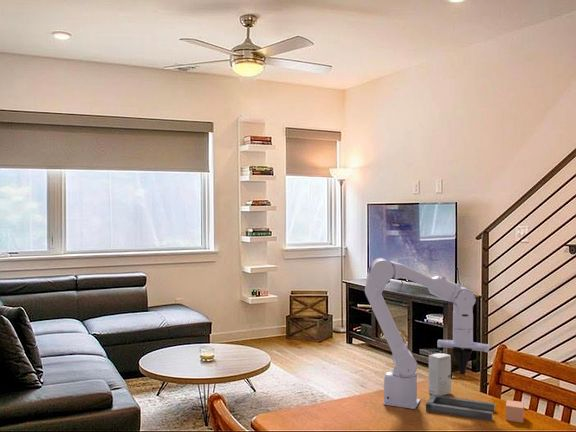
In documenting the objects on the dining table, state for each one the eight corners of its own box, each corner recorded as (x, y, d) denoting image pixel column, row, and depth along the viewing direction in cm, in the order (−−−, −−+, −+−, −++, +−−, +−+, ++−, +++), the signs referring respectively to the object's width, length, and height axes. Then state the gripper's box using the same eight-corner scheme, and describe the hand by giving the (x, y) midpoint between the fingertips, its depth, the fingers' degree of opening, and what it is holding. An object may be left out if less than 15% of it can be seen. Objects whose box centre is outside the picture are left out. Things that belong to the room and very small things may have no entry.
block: (505, 420, 150) (505, 405, 150) (506, 413, 155) (506, 399, 155) (523, 422, 148) (523, 408, 148) (523, 416, 153) (523, 402, 153)
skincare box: (438, 396, 169) (438, 358, 169) (427, 392, 173) (427, 354, 173) (451, 393, 173) (452, 355, 172) (440, 389, 176) (440, 352, 176)
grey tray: (425, 410, 157) (425, 404, 157) (431, 401, 166) (431, 394, 166) (492, 421, 150) (492, 413, 150) (494, 410, 158) (494, 403, 158)
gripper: (489, 327, 163) (489, 372, 163) (440, 323, 169) (440, 366, 169) (487, 332, 156) (487, 379, 156) (436, 327, 162) (436, 373, 162)
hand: (462, 373), depth 162 cm, fingers closed
